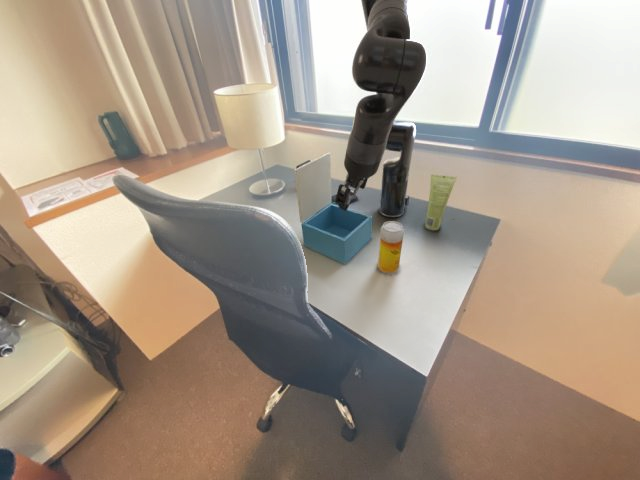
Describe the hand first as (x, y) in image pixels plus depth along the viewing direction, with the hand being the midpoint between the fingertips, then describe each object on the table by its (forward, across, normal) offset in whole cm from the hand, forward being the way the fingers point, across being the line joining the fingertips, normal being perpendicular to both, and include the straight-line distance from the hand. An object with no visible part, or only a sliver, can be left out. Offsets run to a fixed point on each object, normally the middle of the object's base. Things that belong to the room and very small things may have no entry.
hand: (352, 197), depth 69 cm
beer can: (+19, +2, +18) cm, 26 cm away
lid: (+13, -6, -15) cm, 20 cm away
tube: (+25, -25, +24) cm, 43 cm away
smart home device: (+39, -20, -14) cm, 46 cm away
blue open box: (+27, 0, -1) cm, 27 cm away
